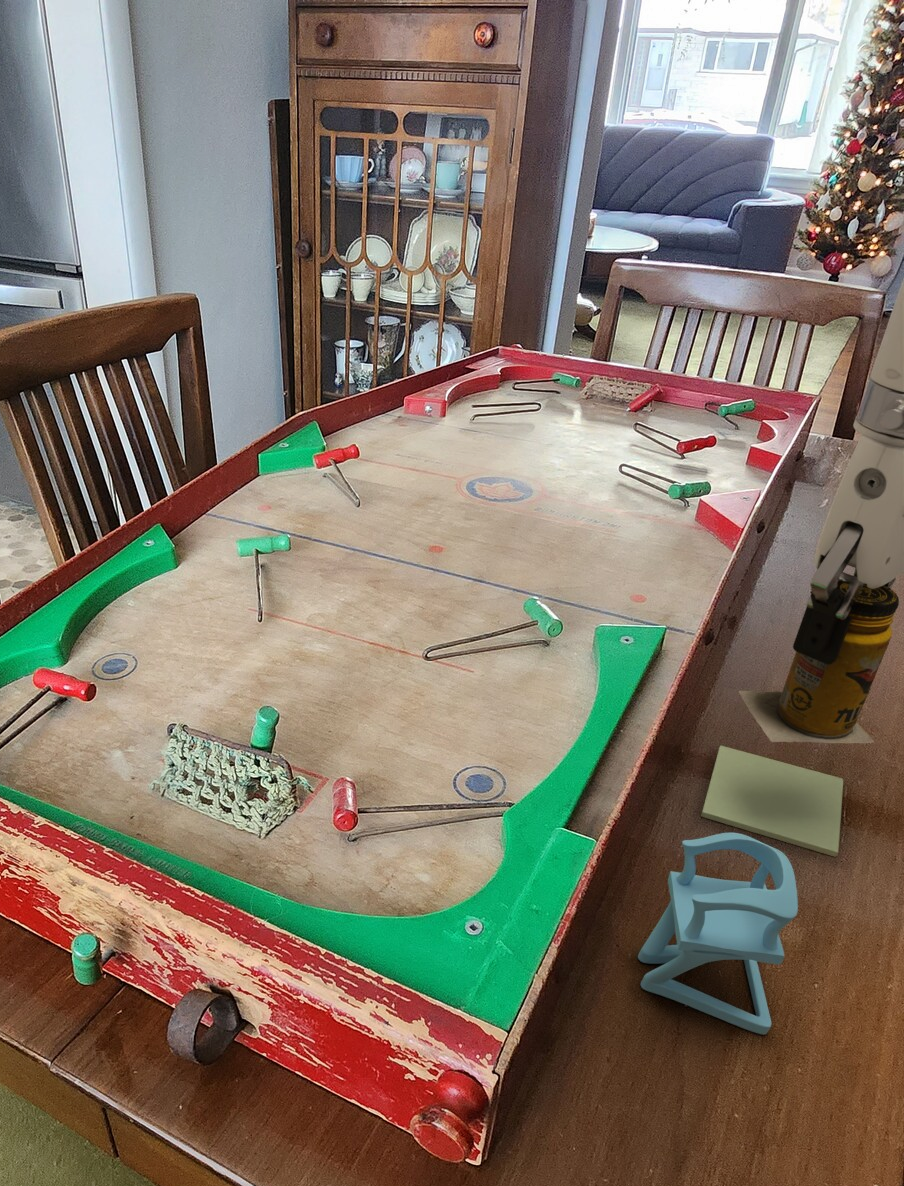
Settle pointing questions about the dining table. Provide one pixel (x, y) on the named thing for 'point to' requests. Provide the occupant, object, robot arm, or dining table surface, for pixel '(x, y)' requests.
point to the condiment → (831, 680)
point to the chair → (722, 927)
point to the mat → (775, 800)
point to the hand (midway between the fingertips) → (833, 640)
